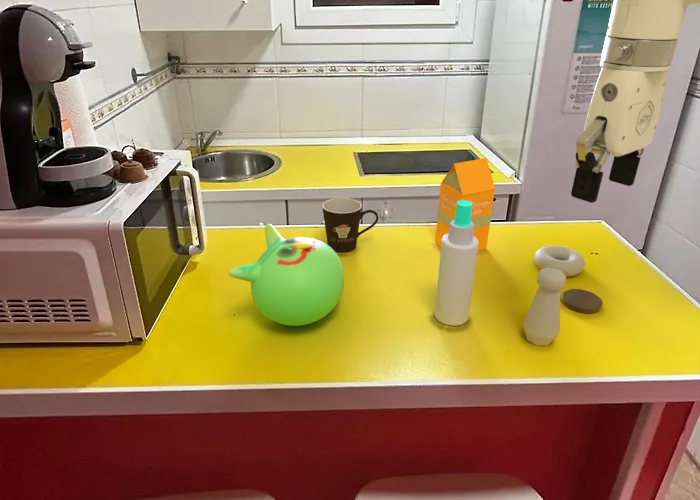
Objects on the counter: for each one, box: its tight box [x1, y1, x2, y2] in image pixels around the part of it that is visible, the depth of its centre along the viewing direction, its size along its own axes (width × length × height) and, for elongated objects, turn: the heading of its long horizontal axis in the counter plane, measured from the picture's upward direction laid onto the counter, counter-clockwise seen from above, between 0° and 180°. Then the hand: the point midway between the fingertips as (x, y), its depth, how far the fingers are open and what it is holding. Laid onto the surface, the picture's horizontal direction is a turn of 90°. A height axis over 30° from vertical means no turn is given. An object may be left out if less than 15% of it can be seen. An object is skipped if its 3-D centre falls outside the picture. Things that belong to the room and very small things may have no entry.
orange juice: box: [434, 157, 496, 252], centre depth 113 cm, size 8×9×20 cm
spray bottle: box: [434, 200, 479, 327], centre depth 88 cm, size 6×6×22 cm
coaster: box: [560, 288, 604, 315], centre depth 97 cm, size 7×7×1 cm
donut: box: [533, 245, 586, 278], centre depth 108 cm, size 10×4×10 cm
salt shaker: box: [522, 268, 567, 347], centre depth 84 cm, size 6×6×13 cm
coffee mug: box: [321, 197, 379, 254], centre depth 114 cm, size 12×9×10 cm
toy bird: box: [228, 223, 345, 327], centre depth 90 cm, size 18×17×15 cm
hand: (602, 190), depth 69 cm, fingers open, 9 cm apart
